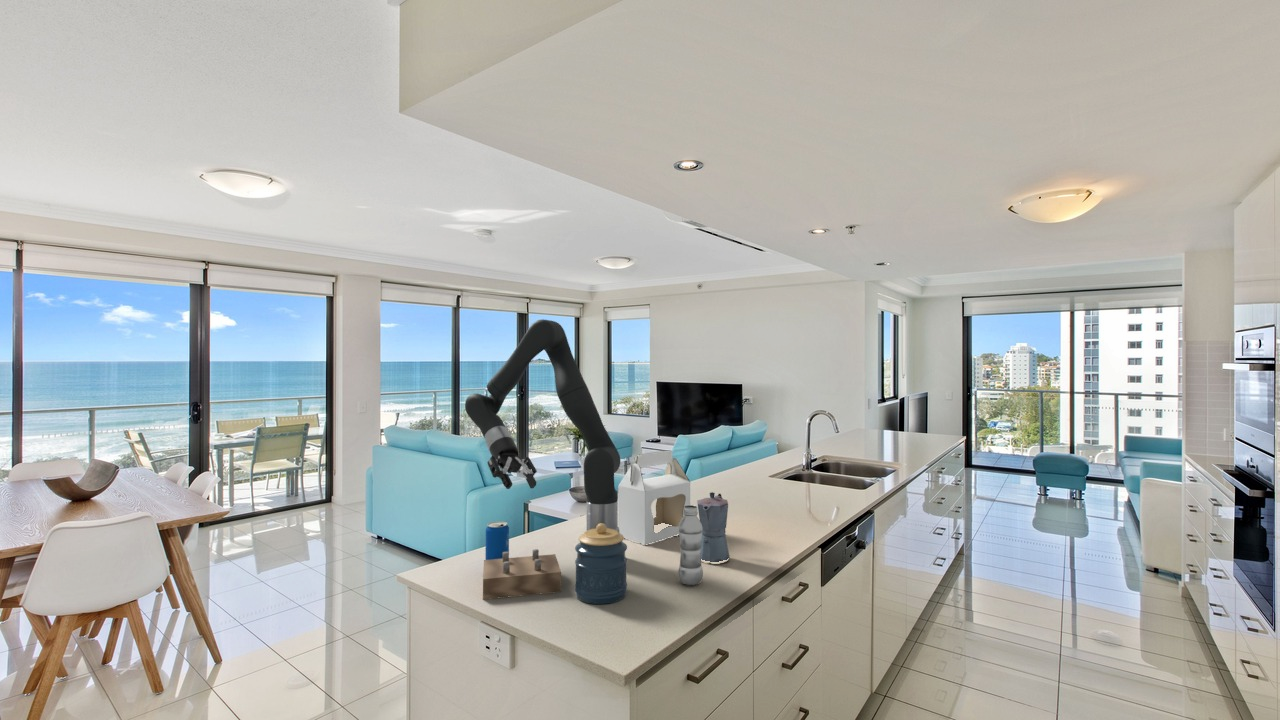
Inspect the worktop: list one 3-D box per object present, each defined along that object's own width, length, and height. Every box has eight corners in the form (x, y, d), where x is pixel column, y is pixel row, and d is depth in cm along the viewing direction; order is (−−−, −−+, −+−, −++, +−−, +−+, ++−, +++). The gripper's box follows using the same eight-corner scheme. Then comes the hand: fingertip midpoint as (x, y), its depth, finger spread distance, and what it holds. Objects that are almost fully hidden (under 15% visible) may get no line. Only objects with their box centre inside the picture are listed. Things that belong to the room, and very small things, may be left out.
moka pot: (690, 565, 160) (690, 495, 160) (705, 549, 174) (704, 485, 175) (723, 570, 156) (723, 498, 157) (735, 553, 171) (735, 487, 171)
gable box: (663, 524, 202) (663, 447, 203) (691, 532, 193) (691, 451, 193) (617, 537, 187) (617, 453, 188) (644, 546, 178) (644, 458, 178)
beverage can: (502, 571, 156) (502, 527, 156) (481, 569, 157) (481, 526, 157) (512, 563, 162) (512, 521, 162) (491, 561, 163) (492, 520, 163)
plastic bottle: (705, 580, 149) (705, 505, 149) (699, 589, 142) (699, 511, 143) (681, 577, 151) (681, 503, 151) (675, 586, 144) (675, 508, 145)
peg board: (555, 572, 155) (555, 545, 155) (561, 591, 141) (561, 561, 141) (483, 578, 150) (484, 550, 150) (482, 599, 136) (483, 568, 136)
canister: (607, 609, 131) (607, 533, 131) (564, 597, 138) (564, 525, 138) (637, 591, 142) (637, 521, 142) (595, 580, 149) (595, 514, 149)
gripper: (487, 434, 161) (508, 478, 152) (526, 437, 172) (548, 477, 163) (474, 452, 164) (494, 496, 154) (513, 453, 174) (534, 494, 165)
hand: (522, 486), depth 159 cm, fingers open, 8 cm apart
